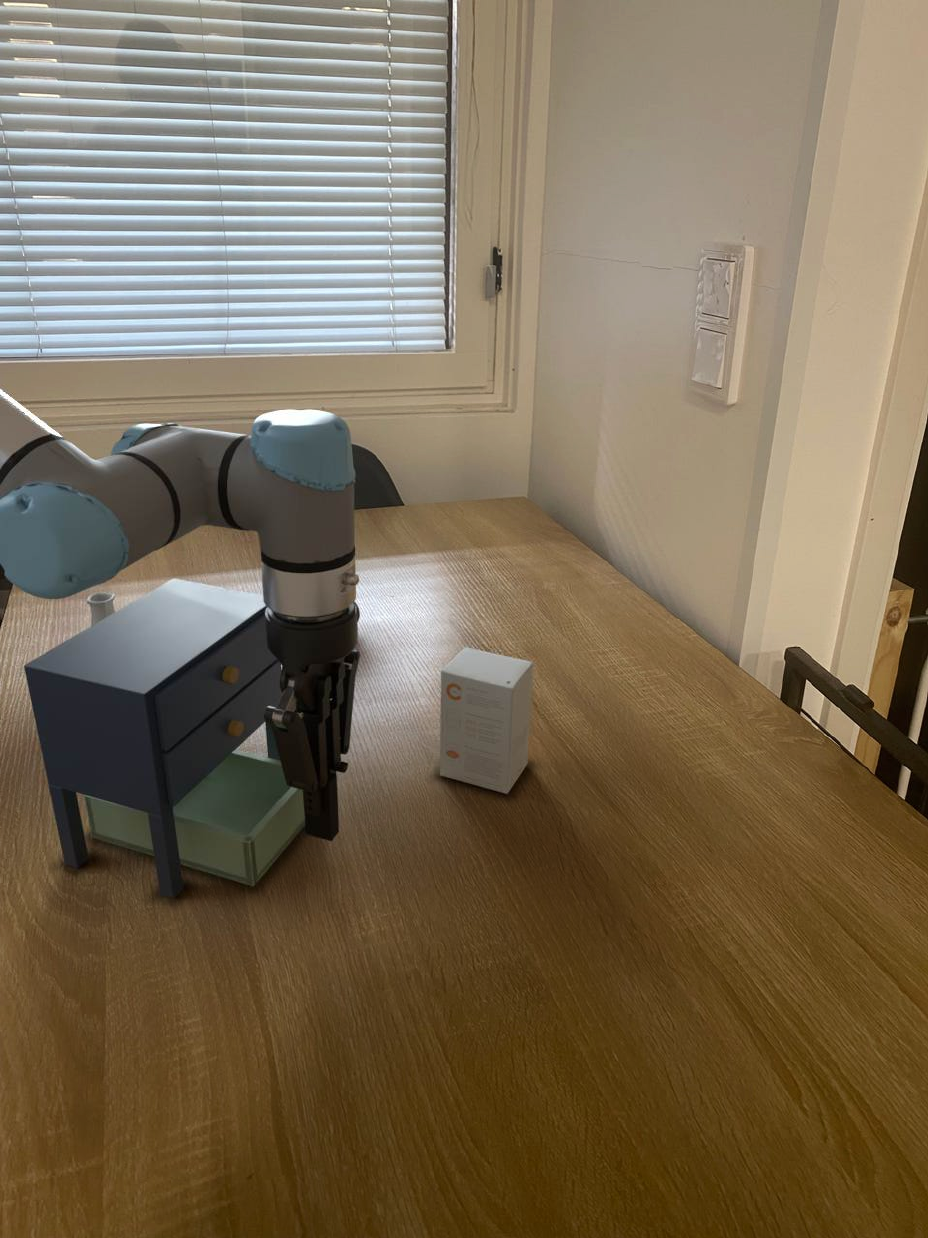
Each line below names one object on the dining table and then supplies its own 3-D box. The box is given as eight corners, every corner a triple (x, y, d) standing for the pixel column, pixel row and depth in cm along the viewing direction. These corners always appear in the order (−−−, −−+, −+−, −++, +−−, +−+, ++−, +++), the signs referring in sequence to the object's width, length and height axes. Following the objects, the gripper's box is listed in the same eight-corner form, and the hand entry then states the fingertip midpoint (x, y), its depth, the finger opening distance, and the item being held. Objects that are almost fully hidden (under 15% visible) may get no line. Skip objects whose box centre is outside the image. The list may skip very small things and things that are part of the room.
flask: (124, 684, 114) (113, 611, 109) (70, 678, 115) (57, 606, 110) (151, 657, 120) (141, 588, 116) (100, 651, 121) (88, 583, 117)
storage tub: (91, 837, 88) (83, 795, 85) (169, 770, 98) (163, 730, 96) (253, 886, 82) (249, 842, 80) (317, 810, 92) (315, 769, 90)
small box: (528, 764, 101) (535, 661, 95) (507, 796, 95) (513, 688, 90) (461, 746, 103) (464, 644, 98) (437, 776, 98) (439, 670, 92)
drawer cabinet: (64, 864, 84) (23, 665, 75) (194, 751, 101) (173, 577, 92) (187, 903, 80) (159, 698, 71) (300, 779, 97) (289, 600, 88)
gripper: (312, 646, 68) (325, 889, 78) (385, 582, 79) (388, 802, 89) (226, 628, 70) (249, 866, 81) (309, 568, 81) (320, 785, 92)
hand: (322, 832), depth 85 cm, fingers closed
